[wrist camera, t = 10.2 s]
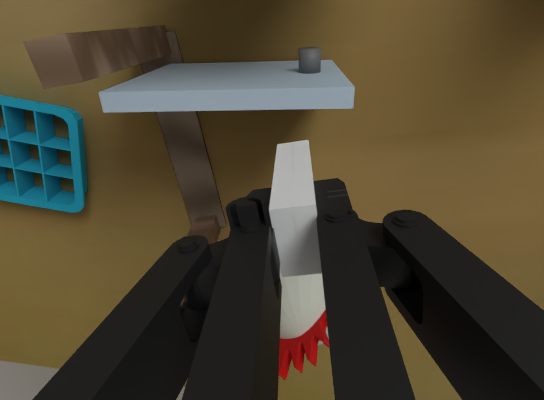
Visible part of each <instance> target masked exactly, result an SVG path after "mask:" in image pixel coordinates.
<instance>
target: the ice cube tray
mask: <svg viewBox="0 0 544 400" xmlns="http://www.w3.org/2000/svg"><path fill="white" fill-rule="evenodd" d="M0 105H1V106H2V111H3V117H4V123H5V127H1V126H0V138H1V139H6V140H8V145H9V151H10V155H8V154H3V150H2V145H1V139H0V200H2V201H8V202H13V203H19V204H25V205H30V206H36V207H42V208H47V209H53V210H59V211H65V212H70V213H74V212H79V211H81V210H82V209H83V207H84V206H85V192H86V191H87V190H88V188H87V174H86V160H85V147H84V133H83V119H82V117H81V116H80V114H79V113H78V112H77V111H75V110H72V109H70V108H68V107H62V106H57V105H51V104H46V103H41V102H35V101H30V100H24V99H19V98H14V97H8V96H3V95H0ZM24 109H26V110H31V111H33V112H34V119H35V127H36V133H33V132H28V131H27V129H26V122H25V116H24ZM53 115H56V116H58V117H61V118H63V119H64V120H65V121H66V123H67V124H68V129H69V139H66V138H61V137H55V128H54V119H53ZM29 144H34V145H38V148H39V156H40V160H36V159H31V156H30V149H29ZM57 149H61V150H67V151H71V161H72V166H69V165H64V164H58V155H57ZM6 167H8V168H13V173H14V179H15V182H11V181H8V177H7V172H6ZM33 172H36V173H41V174H42V178H43V185H44V187H40V186H35V183H34V176H33ZM60 177H64V178H69V179H73V183H74V193H73V192H68V191H62V190H61V182H60Z"/></svg>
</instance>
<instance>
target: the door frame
mask: <svg viewBox="0 0 544 400" xmlns="http://www.w3.org/2000/svg"><path fill="white" fill-rule="evenodd" d="M23 43H24V45H25V47H26V50H27V52H28V54H29V56H30V59H31V61H32V63H33V66H34V68H35V70H36V72H37V75H38V77H39V79H40V81H41V84H42V86H43V88H44V89H46V88H52V87H57V86H63V85H68V84H74V83H79V82H84V81H88V80H91V79H94V78H97V77H100V76H103V75H106V74H110V73H113V72H116V71H119V70H122V69H125V68H128V67H132V66H135V65H138V64H141V66H142V69H143V72H144V74H146V73H148V72H151V71H153V70H156V69H158V68H161V67H163V66H166V65H169V64H181V63H183V60H182V56H181V52H180V48H179V44H178V41H177V37H176V33H175V30H174V31H169V32H166V29H165V25H164V26H152V27H139V28H127V29H115V30H102V31H90V32H78V33H65V34H60V35H55V36H50V37H45V38H40V39H35V40H30V41H26V42H23ZM156 113H157V117H158V120H159V123H160V126H161V129H162V132H163V136H164V139H165V142H166V145H167V148H168V151H169V155H170V158H171V161H172V164H173V167H174V170H175V174H176V177H177V180H178V183H179V186H180V189H181V193H182V196H183V199H184V202H185V205H186V208H187V212H188V215H189V218H190V221H191V224H192V228H191V230H190V232H189V234H188V236H190V235H201V236H204V237H206V238H207V239H208V243H209V244H212V243H215V242H216V241H217V238H218V235H219V232H220V230H221V228H220V227H226V226H227V225H226V222H225V218H224V214H223V210H222V207H221V203H220V199H219V195H218V191H217V188H216V184H215V180H214V176H213V173H212V169H211V165H210V161H209V158H208V154H207V150H206V146H205V142H204V139H203V135H202V131H201V127H200V124H199V120H198V116H197V112H196V111H166V112H156ZM184 301H185V300H184V298H183V300H182V302H181V305H182V304H183V302H184Z"/></svg>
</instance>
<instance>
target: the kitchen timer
mask: <svg viewBox="0 0 544 400" xmlns="http://www.w3.org/2000/svg"><path fill="white" fill-rule="evenodd" d="M280 280H281V285H282V297H281V322H280V348H279V373H278V375H279V376H281V377H282V378H283V379H284V380H285V379H286V377H287V374H288V370H289V366H290V362H291V359H292V361H293V364H294V367H295V368H296V369H297V370H299V371H300V372H301V373H302V371H303V363H304V354H305V353H306V356H307V359H308V360H309V361H310V362H311V363H312V364H313V365H314V366H316V363H317V348H318V345H321V344H323V343H324V344H325V345H326V346H327V347H329V337H328V327H327V318H326V308H325V299H324V289H323V280H322V273H321V274H310V275H300V276H290V277H282V275H281V270H280Z"/></svg>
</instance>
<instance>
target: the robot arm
mask: <svg viewBox="0 0 544 400" xmlns="http://www.w3.org/2000/svg"><path fill="white" fill-rule="evenodd" d="M226 212H227V216H228V220H229V224H230V228H231V231H230V235H229V237H228V238H226V239H224V240H222V241H219V242H215V243H212V244H209V243H208V239H207V238H206V237H204V236H201V235H190V236H187V237H183V238H181V239H180V240H178V241H176V242H174V243H173V244H172V245H171V246H170V247H169V248H168V249H167V250H166V251H165V253H164V254H163V255H162V256H161V257H160V258H159V259H158V260H157V261H156V263H155V264H154V265H153V266H152V267H151V268H150V269H149V270H148V271H147V273H146V274H145V275H144V276H143V277H142V278H141V279H140V280H139V282H138V283H137V284H136V285H135V286H134V287H133V288H132V289H131V290H130V292H129V293H128V294H127V295H126V296H125V297H124V298H123V299H122V300H121V302H120V303H119V304H118V305H117V306H116V307H115V308H114V309H113V310H112V312H111V313H110V314H109V315H108V316H107V317H106V318H105V319H104V321H103V322H102V323H101V324H100V325H99V326H98V327H97V328H96V329H95V331H94V332H93V333H92V334H91V335H90V336H89V337H88V338H87V339H86V341H85V342H84V343H83V344H82V345H81V346H80V347H79V348H78V349H77V351H76V352H75V353H74V354H73V355H72V356H71V357H70V358H69V360H68V361H67V362H66V363H65V364H64V365H63V366H62V367H61V368H60V370H59V371H58V372H57V373H56V374H55V375H54V376H53V377H52V378H51V380H50V381H49V382H48V383H47V384H46V385H45V386H44V388H42V390H41V391H40V392H39V393H38V394H37V395H36V396H35V398H34V399H33V400H176V398H177V397H178V395H179V393H180V391H181V389H182V388H183V386H184V384H185V382H186V380H187V378H188V380H187V384H186V387H185V391H184V394H183V397H182V400H277V398H278V373H279V348H280V322H281V297H282V285H281V280H280V270H281V275H282V277H290V276H300V275H310V274H321V273H322V280H323V289H324V299H325V308H326V318H327V327H328V337H329V347H330V356H331V366H332V375H333V385H334V394H335V400H415V397H414V393H413V390H412V387H411V384H410V381H409V378H408V374H407V371H406V368H405V365H404V362H403V358H402V355H401V352H400V349H399V346H398V342H397V339H396V336H395V333H394V330H393V327H392V323H391V320H390V317H389V314H388V311H387V307H386V304H385V301H384V298H383V295H382V291H381V288H380V287H385V291H386V293H387V295H388V296H389V298H390V299H391V301H392V302H393V303H394V305H395V306H396V308H397V309H398V310H399V312H400V313H401V315H402V316H403V317H404V319H405V320H406V322H407V323H408V324H409V326H410V327H411V329H412V330H413V331H414V333H415V334H416V336H417V337H418V338H419V340H420V341H421V343H422V344H423V345H424V347H425V348H426V350H427V351H428V352H429V354H430V355H431V357H432V358H433V359H434V361H435V362H436V364H437V365H438V366H439V368H440V369H441V371H442V372H443V373H444V375H445V376H446V378H447V379H448V380H449V382H450V383H451V385H452V386H453V387H454V389H455V390H456V392H457V393H458V394H459V396H460V397H461V399H462V400H544V310H542V309H541V308H540V307H539V306H537V305H536V304H535V303H534V302H532V301H531V300H530V299H529V298H528V297H526V296H525V295H524V294H523V293H521V292H520V291H519V290H518V289H516V288H515V287H514V286H513V285H511V284H510V283H509V282H508V281H506V280H505V279H504V278H503V277H501V276H500V275H499V274H498V273H497V272H495V271H494V270H493V269H492V268H490V267H489V266H488V265H487V264H485V263H484V262H483V261H482V260H480V259H479V258H478V257H477V256H475V255H474V254H473V253H472V252H471V251H469V250H468V249H467V248H466V247H464V246H463V245H462V244H461V243H459V242H458V241H457V240H456V239H454V238H453V237H452V236H451V235H449V234H448V233H447V232H446V231H445V230H443V229H442V228H441V227H440V226H438V225H437V224H436V223H435V222H433V221H432V220H431V219H430V218H428V217H427V216H426V215H424V214H422V213H420V212H416V211H412V210H399V211H394V212H391V213H389V214H387V215H386V216H385V217H384V218H383V223H373V222H367V221H363V220H361V219H359V218H358V215H357V213H356V212H355V211H354V210H353V209H352V206H351V203H350V200H349V196H348V193H347V190H346V186H345V183H344V182H343V181H341V180H340V179H338V178H335V179H327V180H319V181H313V173H312V165H311V157H310V149H309V141H308V140H303V141H296V142H289V143H282V144H277V150H276V158H275V166H274V174H273V181H272V188H264V189H257V190H253V191H252V192H250V193H249V194H248V195H247V197H243V198H239V199H237V200H234V201H232V202H231V203H229V204H228V205H227V207H226ZM183 298H184V300H185V301H184V302H183V304H182V305H181V302H182V300H183Z"/></svg>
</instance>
